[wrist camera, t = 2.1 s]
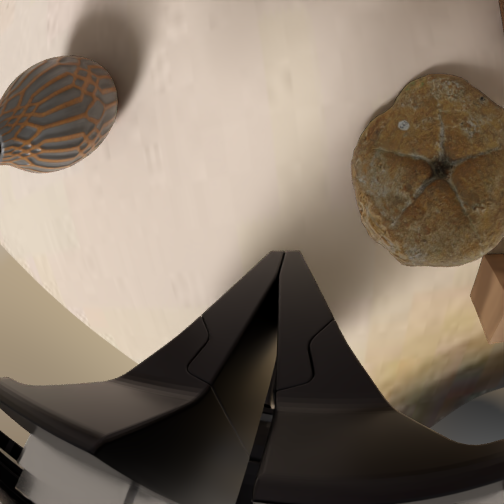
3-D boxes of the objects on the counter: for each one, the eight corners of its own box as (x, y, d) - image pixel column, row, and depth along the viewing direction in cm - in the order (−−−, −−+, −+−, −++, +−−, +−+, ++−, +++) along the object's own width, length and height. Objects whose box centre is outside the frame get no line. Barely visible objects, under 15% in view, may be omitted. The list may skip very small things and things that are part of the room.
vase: (84, 161, 20) (-1, 223, 13) (46, 88, 16) (-48, 126, 9) (152, 117, 17) (53, 171, 10) (108, 31, 14) (-4, 44, 7)
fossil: (559, 148, 8) (440, 313, 11) (540, 173, 11) (443, 301, 15) (417, 47, 12) (313, 185, 16) (429, 86, 15) (343, 200, 19)
